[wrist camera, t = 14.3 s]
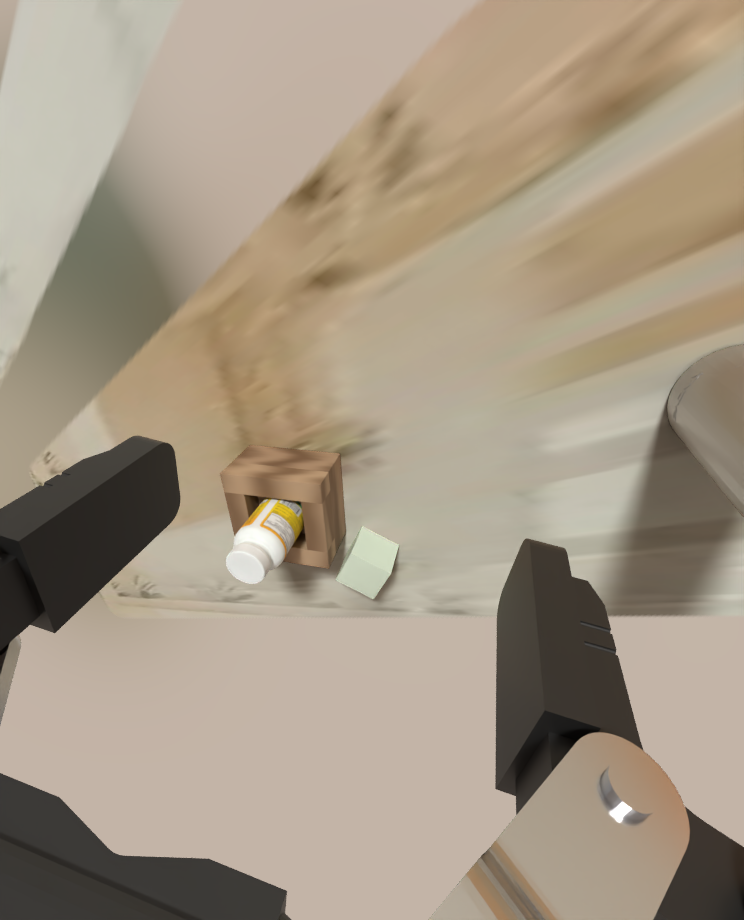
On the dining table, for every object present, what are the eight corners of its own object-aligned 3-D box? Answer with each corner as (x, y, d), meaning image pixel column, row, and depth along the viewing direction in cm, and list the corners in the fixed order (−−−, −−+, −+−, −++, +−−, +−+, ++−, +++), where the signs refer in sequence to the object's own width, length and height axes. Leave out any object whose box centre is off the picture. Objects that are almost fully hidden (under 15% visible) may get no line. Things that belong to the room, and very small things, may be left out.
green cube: (399, 544, 53) (390, 573, 48) (382, 569, 55) (373, 599, 51) (362, 525, 53) (351, 553, 48) (347, 551, 55) (335, 580, 51)
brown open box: (340, 453, 48) (320, 484, 43) (345, 531, 54) (328, 568, 48) (249, 445, 51) (220, 473, 45) (264, 520, 56) (239, 554, 51)
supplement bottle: (306, 490, 47) (266, 549, 39) (312, 530, 49) (276, 593, 41) (260, 486, 48) (213, 542, 40) (268, 525, 51) (225, 585, 43)
